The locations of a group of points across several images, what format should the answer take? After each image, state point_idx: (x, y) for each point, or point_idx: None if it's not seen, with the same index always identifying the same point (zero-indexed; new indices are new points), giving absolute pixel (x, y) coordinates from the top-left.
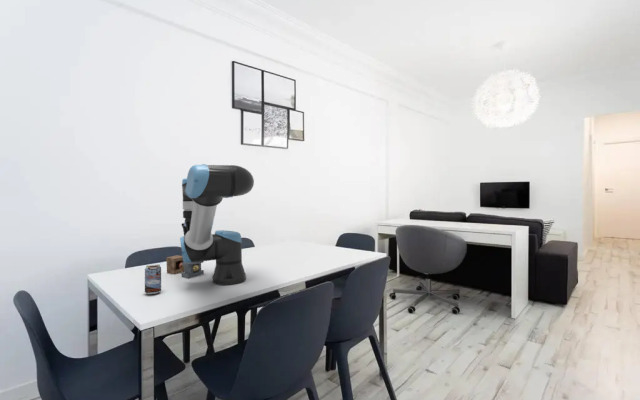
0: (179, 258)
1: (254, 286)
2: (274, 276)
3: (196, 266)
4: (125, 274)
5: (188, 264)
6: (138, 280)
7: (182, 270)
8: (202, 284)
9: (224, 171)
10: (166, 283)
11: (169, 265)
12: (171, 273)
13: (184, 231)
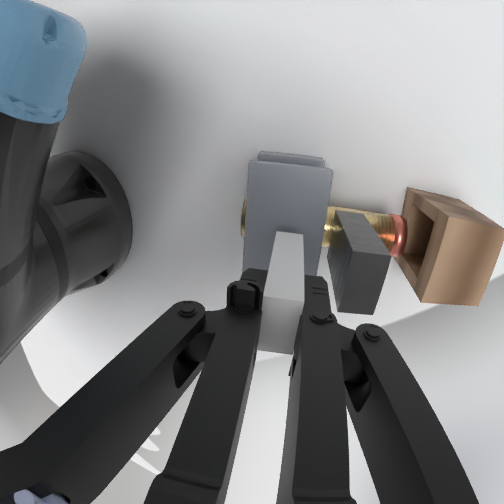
0: (432, 259)
1: None
2: None
3: (242, 219)
4: None
5: (249, 167)
6: (467, 50)
7: None
8: (115, 119)
9: None
10: (293, 39)
11: (461, 208)
12: (428, 192)
13: (432, 464)
